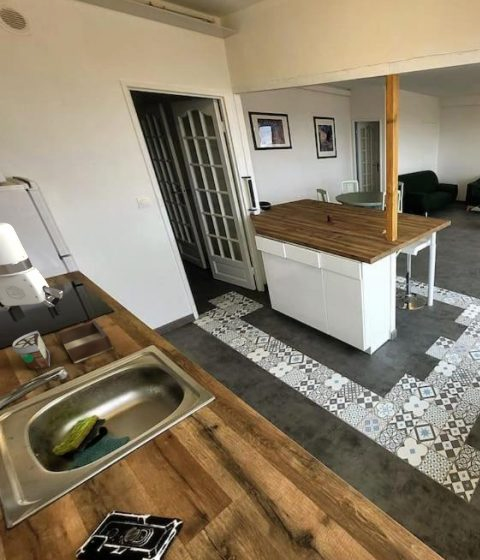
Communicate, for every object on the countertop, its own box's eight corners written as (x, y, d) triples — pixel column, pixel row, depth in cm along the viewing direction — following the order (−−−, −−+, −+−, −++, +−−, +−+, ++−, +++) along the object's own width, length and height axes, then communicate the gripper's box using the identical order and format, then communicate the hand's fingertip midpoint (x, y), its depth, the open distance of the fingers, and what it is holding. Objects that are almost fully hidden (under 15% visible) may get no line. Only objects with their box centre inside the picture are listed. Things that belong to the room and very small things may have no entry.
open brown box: (74, 363, 109) (67, 350, 107) (63, 345, 119) (57, 332, 116) (113, 348, 117) (107, 336, 115) (100, 332, 127) (95, 320, 124)
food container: (25, 359, 111) (11, 336, 106) (49, 352, 115) (37, 330, 110) (23, 377, 103) (8, 353, 99) (49, 369, 107) (36, 345, 103)
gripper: (-40, 274, 83) (-7, 327, 90) (38, 270, 86) (64, 321, 94) (-14, 263, 89) (15, 314, 97) (57, 260, 93) (80, 309, 100)
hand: (39, 317), depth 95 cm, fingers open, 9 cm apart
